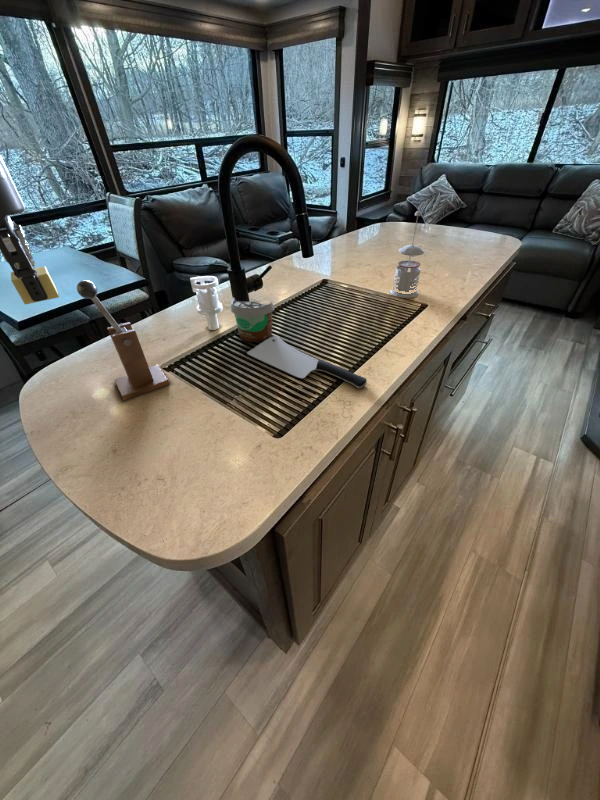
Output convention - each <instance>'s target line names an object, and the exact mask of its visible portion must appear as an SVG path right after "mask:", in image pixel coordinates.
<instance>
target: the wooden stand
mask: <svg viewBox="0 0 600 800" xmlns="http://www.w3.org/2000/svg"><path fill="white" fill-rule="evenodd" d="M118 325H119V327H120V328H123V327H125V329H126V330H127V331H124V332H120V333H117V334H114V332H115V331H116V330H115V329H114V328H113V327H112V326H107V328H106V329H107V331H108V333H109V336H110V338H111V341H112V343H113V345H114V348H115V351H116V352H117V355H118V357H119V359H120V362H121V364H122V366H123V369H124V371H125V375H122V376H119V377H115V378H113V380H114V383H115V385H116V387H117V389H118V391H119V393H120V395H121V398H122V399H123V401H126V400H129V399H132V398H135V397H138V396H140V395H143V394H145V393H146V394H147V393H148V392H151V391H155V390H158V389H160V388H162V387H165V386H169V385H170V381H169V379H168V377H167V376H166V375H165V373H164V371H163V370H162V368H160V366H159V364H154V365H152V366H150V367H149V364H148V361H147V359H146V356H145V353H144V350H143V348H142V345H141V342H140V339H139V336H138V334H137V332H136V329H135V328H133V327H132V324H131V322H130V321H127V322H123V323H120V324H119V323H118Z"/></svg>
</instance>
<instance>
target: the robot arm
mask: <svg viewBox="0 0 600 800" xmlns="http://www.w3.org/2000/svg"><path fill="white" fill-rule="evenodd" d="M16 187H17V186H16V185H15V183H14V181H13V179H12V177H11V175H10V172H9V170H8V168H7V166H6V164H5V162H4V160H3V158H2V156H1V155H0V253H1V255H2V257H3V259H4V261H5V262H6V263H8V265H9V267H10V268H11V270H12V272H14V275H15V276H16V277H17V278H19V279H21V280H22V282H23V284H24V286H25V288H26V290H27V291H28V293H29V295H30V297H31V299H32V300H33V301H35V303H38V302H37V301H40V302H43V301H42V300H44V301H47V300H46V299H47V298H48V296H47V294H46V292H45V290H44V288H43V286H42V284H41V282H40V280H39V278H38V275H37V274H38V273H37V271H36V270H35V269H34V268H36V262H35V260H34V257H33V255H32V254H33V253H32V252H33V251H32V250H31V247H30V245H29V243H28V242H27V238H26V235H25V232H24V230H23V227H22V226H21V224H17V223H15V221H14V220H13V221H12V219H11V217H10V216H13V215H14V216H15V215H17V214H21V213H23V212H25V210H26V205H25V204H24V202H23V199H22V198H21V195H20V193H19V191H18V189H17V188H16Z"/></svg>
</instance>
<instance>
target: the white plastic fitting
mask: <svg viewBox="0 0 600 800" xmlns="http://www.w3.org/2000/svg"><path fill="white" fill-rule="evenodd" d="M189 280H190V281H189V282H190V284H191V290H192V292H193V293H195V294H196V298H197V303H198V305H196V310H197V311H196V312H197V313H198V314H199V315H201V316H205V319H206V323H207V328H208V330H210V331H216V330H218V329H219V328H220V326H219V325H220V324H219V320H218V315H217V314H219V313H222V312H223V310H224V308H223V304H222V302H220V300H219V295H218V289H217V288H216V287H218V285H219V279H218V277H217V276H213V275H204V276H199V275H198V276H195V277H190V278H189ZM208 281H209V282H210V283H208ZM205 282H207V283H205ZM198 283H199V284H198Z"/></svg>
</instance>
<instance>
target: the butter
mask: <svg viewBox="0 0 600 800" xmlns="http://www.w3.org/2000/svg"><path fill="white" fill-rule="evenodd" d="M34 269H35V270H36V271H37V273H38V274H37V275H38V278H39V280H40V282H41V284H42V286H43V288H44V290H45V292H46V294H47V296H48V298H47V299H46V300H42V301H37V302H35V301H33V300H32V299H31V297H30V295H29V293H28V291H27V290H26V288H25V286H24V284H23V282H22V280H21V279H19V278H17V277H16V276H15V275H14V271H11V272H10V281H11V283H12V285H13V286H14V288H15V290H16V292H17V294H18V295H19V298H20V299H21V300H22V303H23V304H24V305H29V304H34V303H39V302H44V301H48V300H53V299H58V298H60V295H59V292H58V289H57V287H56V285H55V283H54V281H53V279H52V276H51V275H50V272H49V270H48V269H47V267H46V265H45V266H39V267H35V268H34Z"/></svg>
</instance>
